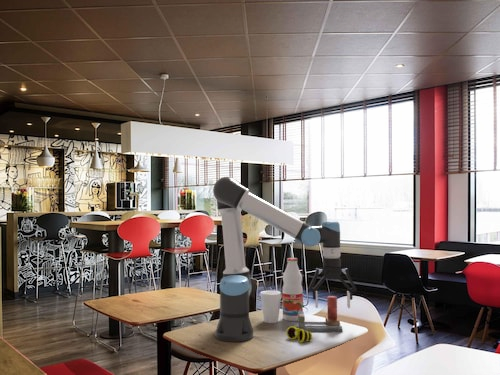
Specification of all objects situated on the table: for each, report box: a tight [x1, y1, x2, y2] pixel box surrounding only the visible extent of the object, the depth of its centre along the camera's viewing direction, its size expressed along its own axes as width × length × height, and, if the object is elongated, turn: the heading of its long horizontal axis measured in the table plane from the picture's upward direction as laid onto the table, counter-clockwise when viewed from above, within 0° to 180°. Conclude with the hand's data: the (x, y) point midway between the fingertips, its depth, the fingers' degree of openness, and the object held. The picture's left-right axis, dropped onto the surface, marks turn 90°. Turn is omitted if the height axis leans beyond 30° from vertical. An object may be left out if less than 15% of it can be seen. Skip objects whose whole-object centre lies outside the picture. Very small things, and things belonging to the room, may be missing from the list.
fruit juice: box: [281, 257, 304, 322], centre depth 200 cm, size 9×9×28 cm
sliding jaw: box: [325, 295, 341, 326], centre depth 182 cm, size 5×8×11 cm, turn 176°
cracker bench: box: [297, 311, 343, 333], centre depth 182 cm, size 18×10×6 cm, turn 86°
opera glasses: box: [286, 325, 313, 343], centre depth 167 cm, size 10×5×5 cm, turn 38°
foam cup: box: [260, 290, 282, 324], centre depth 195 cm, size 10×9×13 cm
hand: (332, 307), depth 182 cm, fingers open, 13 cm apart
